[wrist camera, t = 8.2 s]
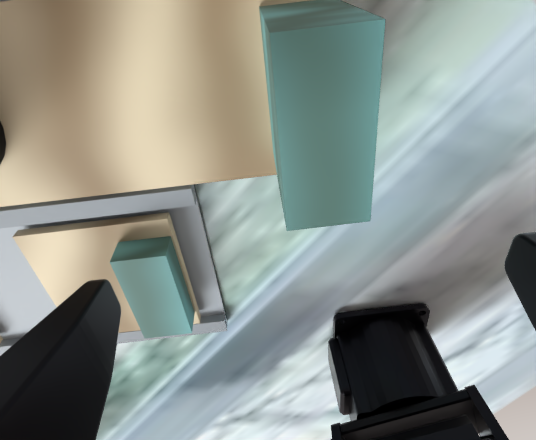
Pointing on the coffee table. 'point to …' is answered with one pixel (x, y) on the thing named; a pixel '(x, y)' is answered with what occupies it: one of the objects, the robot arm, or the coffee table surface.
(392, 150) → the coffee table surface
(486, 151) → the coffee table surface
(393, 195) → the coffee table surface
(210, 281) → the lane board
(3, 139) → the cup
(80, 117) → the teal block on board
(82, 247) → the broken strip
